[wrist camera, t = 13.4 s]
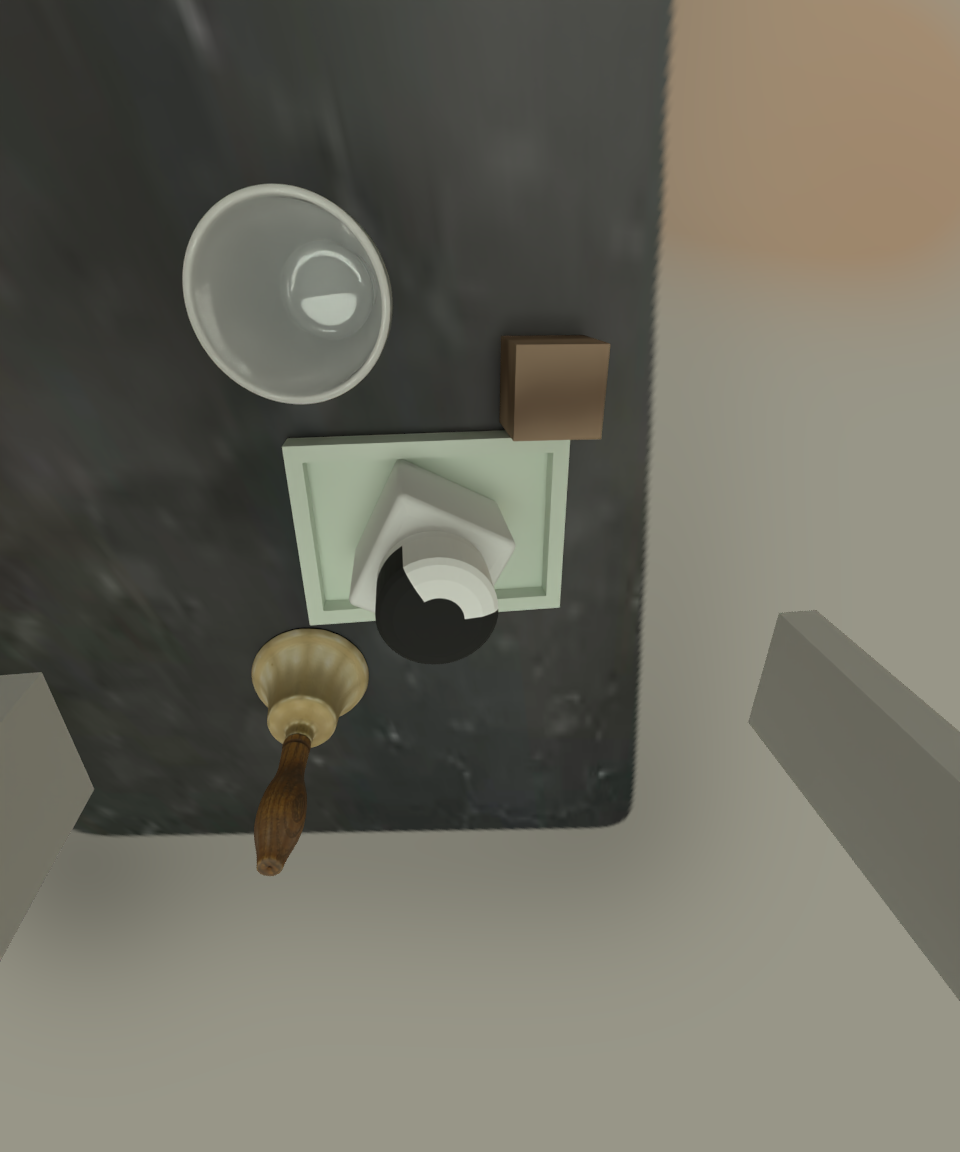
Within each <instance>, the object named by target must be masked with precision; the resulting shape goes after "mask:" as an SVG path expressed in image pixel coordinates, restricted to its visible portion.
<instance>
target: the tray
mask: <svg viewBox="0 0 960 1152" xmlns="http://www.w3.org/2000/svg"><path fill="white" fill-rule="evenodd" d="M569 450H570V440H547V441H513V440H512V439H511V437H510V436H509V434H508V433H507V432H506V430H497V431H470V432H443V433H416V434H389V435H362V436H334V437H307V438H287V439H286V441H285V443H284V444H283V446H282V451H283V457H284V463H285V470H286V476H287V483H288V489H289V495H290V502H291V508H292V514H293V521H294V527H295V533H296V540H297V546H298V552H299V559H300V565H301V571H302V578H303V584H304V590H305V597H306V603H307V609H308V616H309V622H310V625H322V624H335V623H349V622H363V621H376V619H375V613H373V612H370V611H368V610H365V609H362V608H359V607H357V606H354V605H352V604H351V603H350V601H349V594H350V587H351V579H352V572H353V564H354V557H355V550H356V547H357V545H358V543H359V541H360V539H361V537H362V534H363V532H364V530H365V528H366V526H367V524H368V521H369V519H370V517H371V515H372V513H373V511H374V508H375V506H376V504H377V502H378V500H379V498H380V495H381V493H382V491H383V489H384V487H385V485H386V482H387V480H388V478H389V476H390V474H391V472H392V469H393V467H394V465H395V463H396V462H397V460H400V459H403V460H406V461H408V462H410V463H412V464H414V465H416V466H419V467H421V468H423V469H425V470H427V471H430V472H432V473H434V474H436V475H438V476H441V477H443V478H445V479H447V480H449V481H451V482H454V483H456V484H458V485H460V486H462V487H465V488H467V489H469V490H471V491H473V492H476V493H478V494H480V495H482V496H484V497H486V498H489V499H491V500H493V501H495V502H496V503H497V504H498V507H499V509H500V511H501V513H502V515H503V518H504V520H505V522H506V524H507V526H508V529H509V531H510V533H511V535H512V537H513V539H514V542H515V544H516V547H515V550H514V552H513V554H512V555H511V557H510V559H509V561H508V562H507V564H506V566H505V568H504V569H503V571H502V573H501V575H500V576H499V578H498V580H497V582H496V583H495V585H494V589H495V592H496V595H497V599H498V612H503V611H517V610H531V609H545V608H559V607H560V593H561V578H562V562H563V546H564V530H565V514H566V498H567V482H568V466H569Z"/></svg>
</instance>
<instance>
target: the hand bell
mask: <svg viewBox="0 0 960 1152" xmlns="http://www.w3.org/2000/svg"><path fill="white" fill-rule="evenodd" d="M368 677H369V673H368V667H367V664H366V661H365V659H364V657H363V655H362V653H361V652H360V651H359V650H358V649H357V648H356V647H355V646H354V645H353V644H352V643H351V642H349V641H348V640H347V639H345V638H344V637H342V636H340V635H338V634H335V633H332V632H330V631H326V630H321V629H296V630H291V631H288V632H285V633H282V634H280V635H278V636H276V637H274V638H273V639H271V640H270V641H269V642H267V643H266V644H265V645H264V646H263V647H262V648H261V649H260V651H259V652H258V653H257V655H256V657H255V659H254V662H253V666H252V682H253V685H254V688H255V690H256V693H257V694H258V696H259V698H260V699H261V700H262V702H263V703H264V704H265V705H266V706H267V707H268V717H267V724H268V727H269V730H270V732H271V734H272V735H273V736H274V737H275V739H276V740H278V741H279V742H281V743H282V744H283V747H282V754H281V759H280V764H279V769H278V771H277V773H276V775H275V777H274V779H273V780H272V781H271V783H270V784H269V786H268V787H267V789H266V791H265V793H264V795H263V797H262V799H261V802H260V805H259V808H258V812H257V815H256V819H255V825H254V840H255V846H256V854H257V871H258V872H259V873H260V874H262V875H266V876H274V875H276V874H279V873H280V872H281V871H282V869H283V867H284V864H285V862H286V860H287V858H288V857H289V855H290V853H291V852H292V850H293V849H294V847H295V845H296V844H297V842H298V839H299V837H300V835H301V832H302V830H303V826H304V822H305V817H306V808H307V794H306V788H305V782H304V772H305V767H306V763H307V759H308V755H309V752H310V748H311V747H315V746H318V745H320V744H322V743H324V742H325V741H326V740H328V739H329V738H330V737H331V735H332V734H333V733H334V731H335V728H336V725H337V721H338V718H339V717H340V716H342V715H344V714H345V713H347V712H348V711H350V710H351V709H352V708H353V707H354V706H355V705H356V704H357V703H358V702H359V701H360V699H361V698H362V697H363V695H364V693H365V691H366V689H367V685H368Z"/></svg>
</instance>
